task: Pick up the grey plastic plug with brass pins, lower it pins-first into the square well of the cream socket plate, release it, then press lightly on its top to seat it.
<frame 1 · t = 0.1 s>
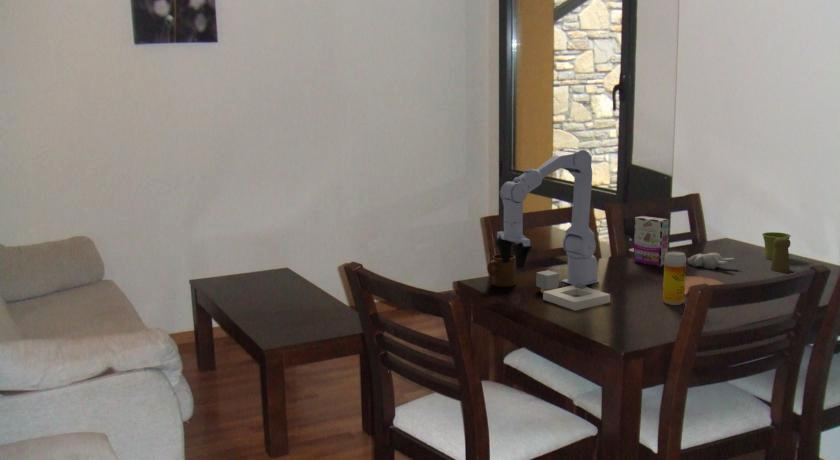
hand: (513, 265, 252), 10 cm above the table, tool pointing down, fingers open, 7 cm apart
yellow supplement bottle: (673, 303, 245), on the table
plant pot: (774, 258, 296), on the table
cork: (780, 270, 280), on the table
plug: (547, 291, 259), on the table
bunny figurine: (710, 268, 285), on the table
candy bar box: (650, 264, 292), on the table
mug: (499, 286, 267), on the table
socket: (576, 301, 248), on the table
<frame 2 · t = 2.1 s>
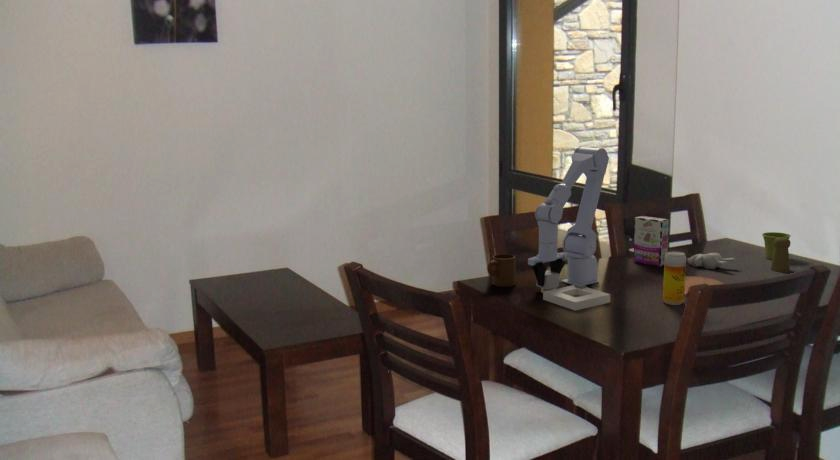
hand: (547, 284, 259), 2 cm above the table, tool pointing down, fingers closed on plug, 5 cm apart
plug: (547, 291, 259), on the table, touching gripper
everything else where it was.
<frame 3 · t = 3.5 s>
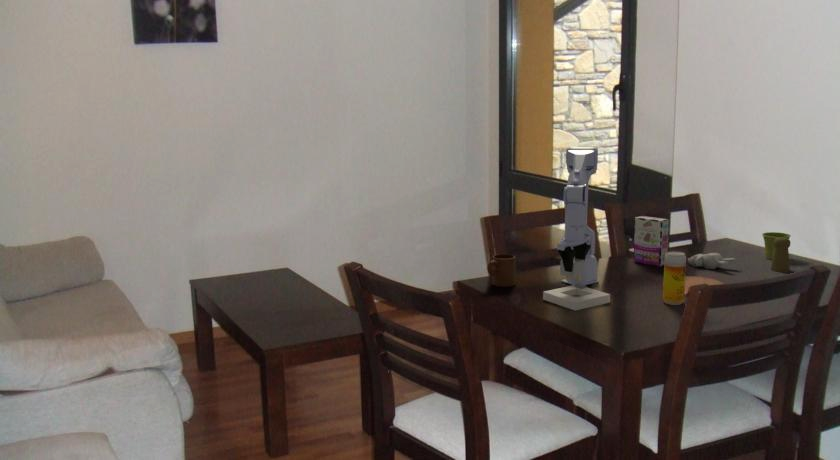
hand: (573, 269, 248), 9 cm above the table, tool pointing down, fingers closed on plug, 5 cm apart
plug: (572, 279, 249), point 6 cm above the table, touching gripper
everything else where it was.
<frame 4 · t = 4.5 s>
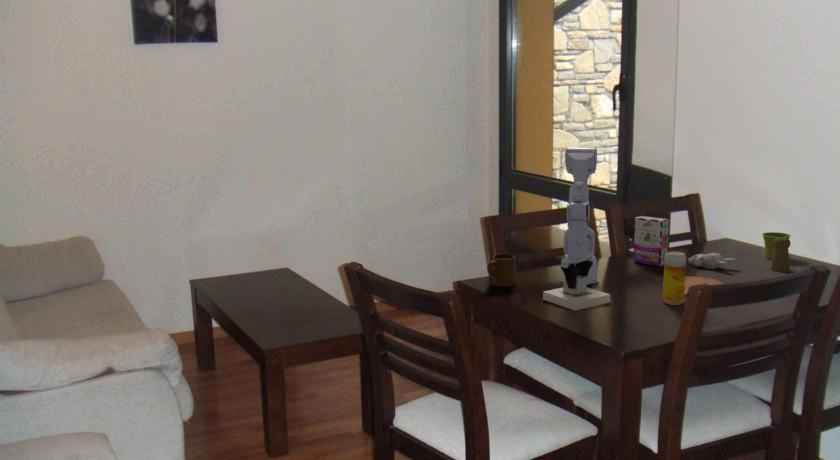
hand: (576, 286, 248), 5 cm above the table, tool pointing down, fingers closed on plug, 5 cm apart
plug: (574, 296, 249), point 1 cm above the table, touching gripper
everything else where it was.
when the fingers open (4 cm above the table, at t = 5.2 s): plug stays where it is, resting on socket.
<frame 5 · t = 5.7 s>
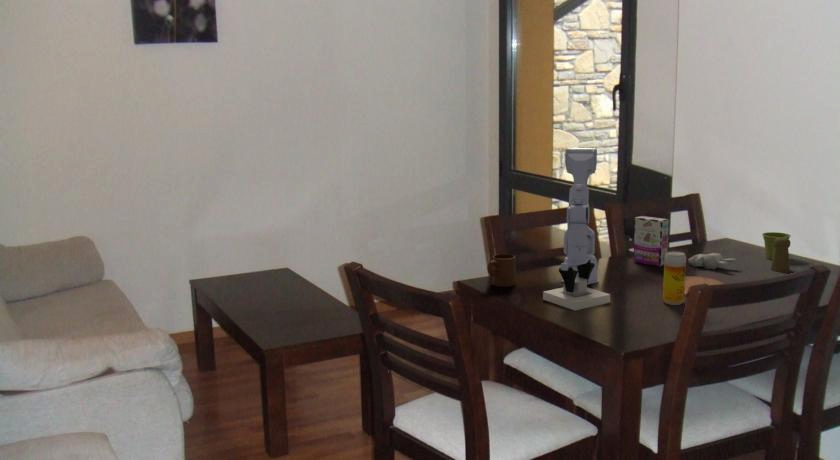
hand: (576, 289, 248), 4 cm above the table, tool pointing down, fingers open, 7 cm apart
plug: (574, 298, 249), point 1 cm above the table, touching socket
everything else where it was.
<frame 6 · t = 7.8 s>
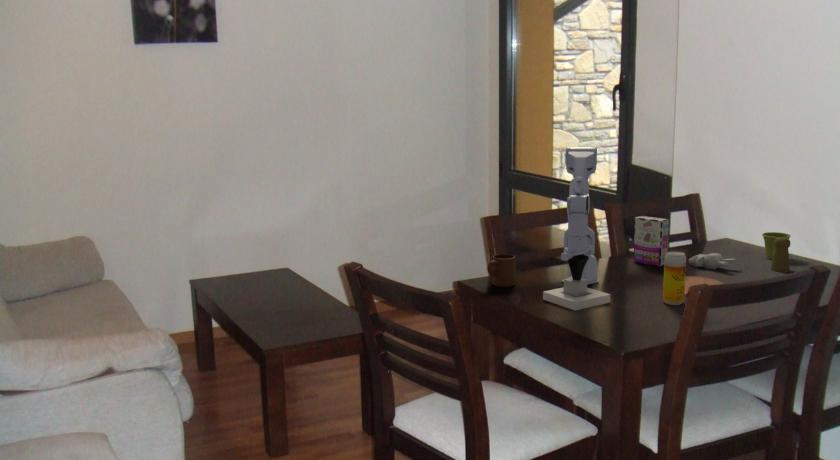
hand: (576, 279, 247), 7 cm above the table, tool pointing down, fingers closed
plug: (574, 298, 249), point 1 cm above the table, touching gripper, socket
everything else where it was.
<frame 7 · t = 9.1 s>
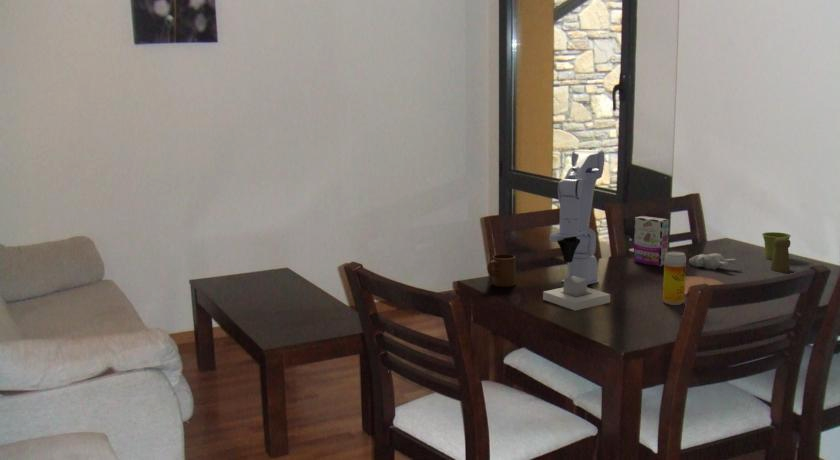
hand: (568, 261, 253), 10 cm above the table, tool pointing down, fingers closed
plug: (574, 298, 249), point 1 cm above the table, touching socket
everything else where it was.
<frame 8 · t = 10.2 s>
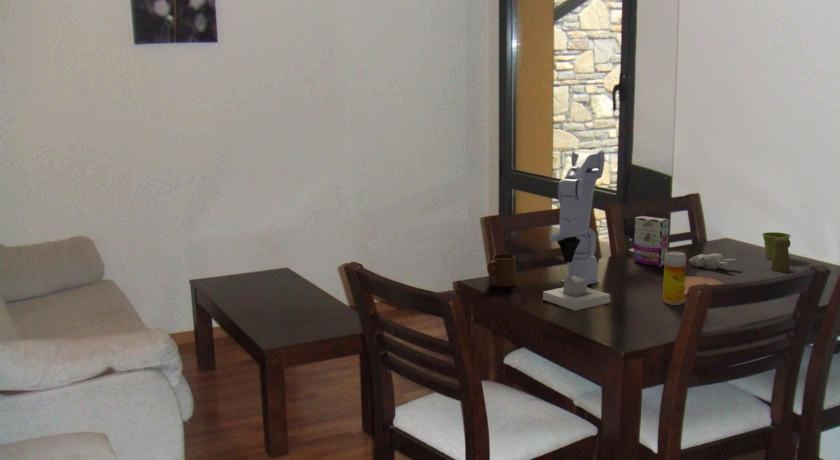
hand: (568, 261, 253), 10 cm above the table, tool pointing down, fingers closed
at the end: plug 0.6 cm off-centre on the socket, point 0.7 cm above the socket's base; plug tilted 4°; the gripper is holding nothing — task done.
